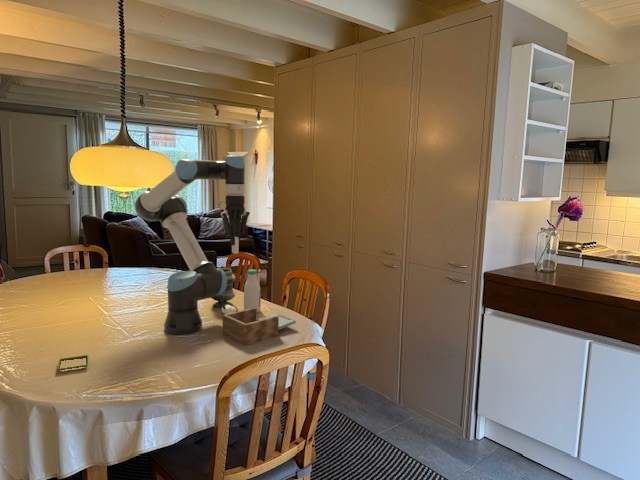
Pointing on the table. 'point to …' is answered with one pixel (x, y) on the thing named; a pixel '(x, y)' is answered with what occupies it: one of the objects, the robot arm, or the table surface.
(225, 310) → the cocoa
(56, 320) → the table surface
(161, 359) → the table surface
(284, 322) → the panel
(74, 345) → the table surface
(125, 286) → the table surface
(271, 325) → the crate
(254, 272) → the milk bottle
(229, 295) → the apothecary jar
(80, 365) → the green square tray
